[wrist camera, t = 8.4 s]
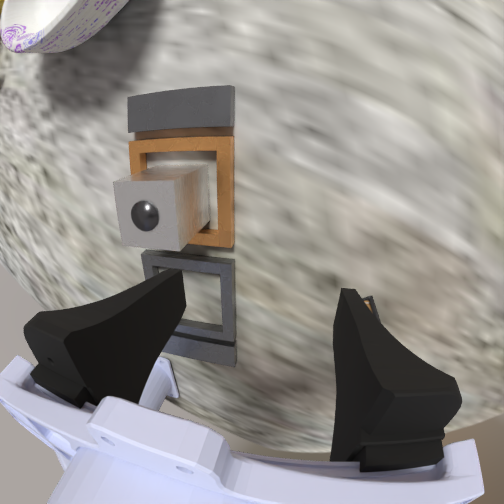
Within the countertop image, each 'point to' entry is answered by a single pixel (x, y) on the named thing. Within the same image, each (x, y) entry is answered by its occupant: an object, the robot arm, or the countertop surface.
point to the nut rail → (215, 115)
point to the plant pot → (1, 5)
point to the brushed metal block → (163, 206)
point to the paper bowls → (53, 23)
